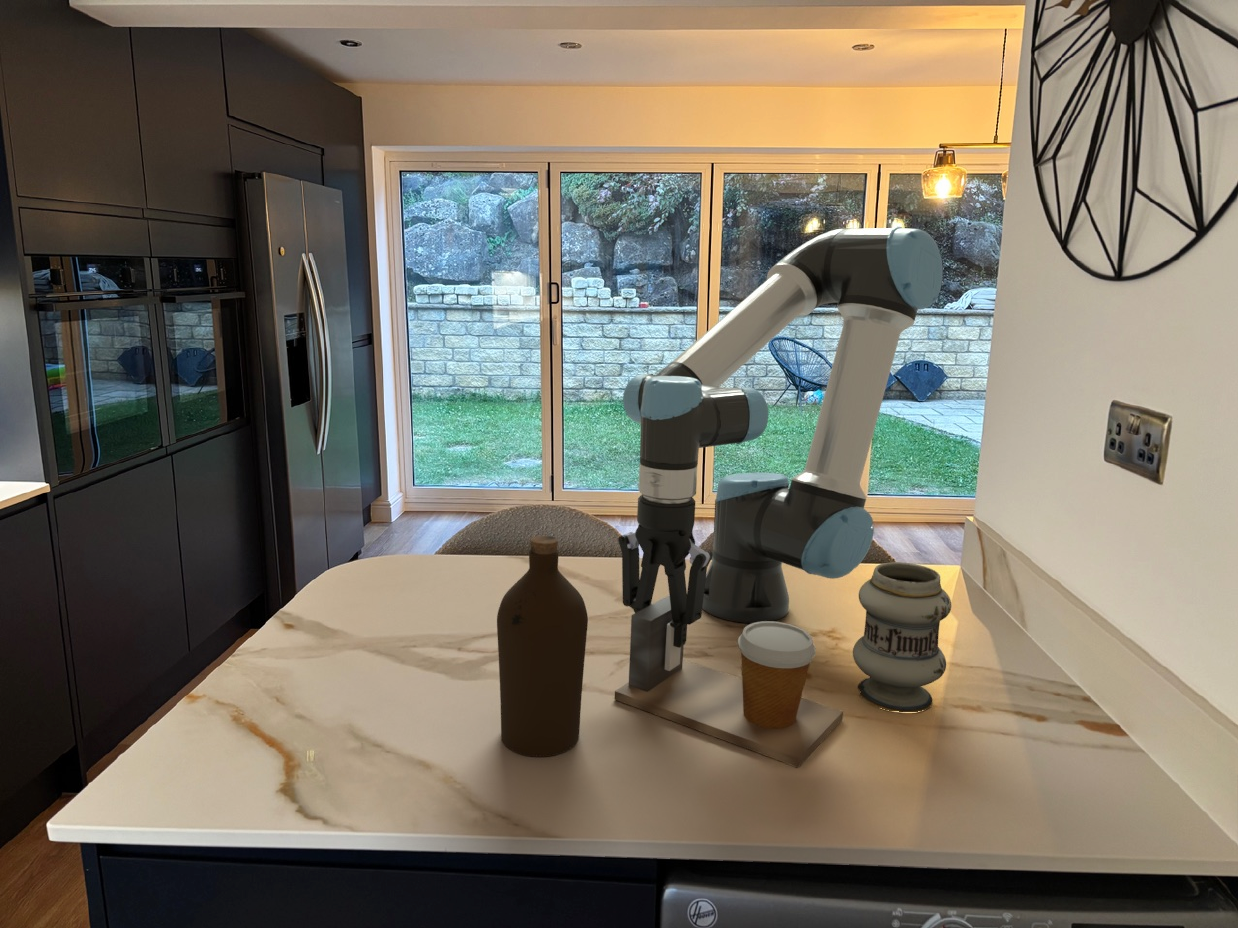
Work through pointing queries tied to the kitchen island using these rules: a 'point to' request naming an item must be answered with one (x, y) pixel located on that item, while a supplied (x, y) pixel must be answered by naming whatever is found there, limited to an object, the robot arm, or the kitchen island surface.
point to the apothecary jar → (901, 636)
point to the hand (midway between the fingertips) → (658, 661)
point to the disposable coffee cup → (774, 671)
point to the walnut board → (711, 696)
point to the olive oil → (541, 656)
